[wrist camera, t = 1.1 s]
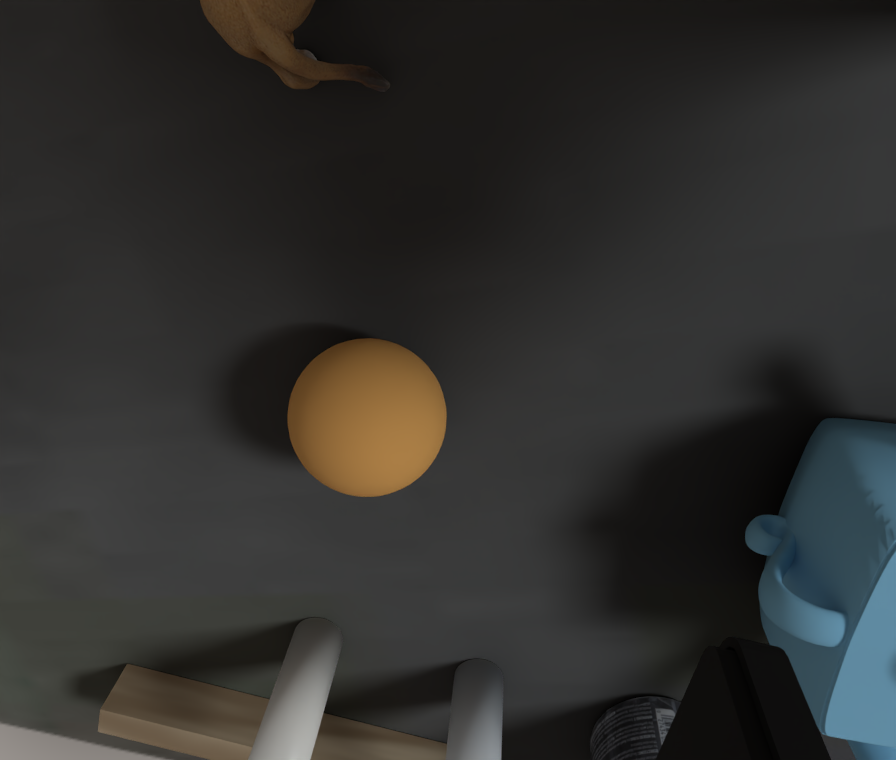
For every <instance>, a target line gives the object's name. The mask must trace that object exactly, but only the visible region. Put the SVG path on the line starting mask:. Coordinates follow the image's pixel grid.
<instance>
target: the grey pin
mask: <svg viewBox="0 0 896 760" xmlns="http://www.w3.org/2000/svg"><path fill="white" fill-rule="evenodd" d="M503 684H504V677H503V673H502V671H501V670H500V668H499V667H498V666H497V665H495V664H494V663H492V662H490V661H488V660H484V659H471V660H467V661H465V662H463V663H461V664H460V665H459V666H458V667H457V669H456V671H455V674H454V682H453V692H452V702H451V712H450V721H449V731H448V741H447V751H446V760H501V751H502V718H503Z"/></svg>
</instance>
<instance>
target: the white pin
mask: <svg viewBox="0 0 896 760" xmlns="http://www.w3.org/2000/svg"><path fill="white" fill-rule="evenodd" d="M342 644H343V635H342V633H341V631H340V629H339V628H338V627H337V626H336V625H335V624H334V623H332V622H331V621H329V620H326V619H323V618H317V617H313V618H308V619H305V620H303V621H301V622H300V623H299V624H298V625H297V626H296V628H295V630H294V633H293V636H292V639H291V641H290V644H289V647H288V650H287V653H286V655H285V658H284V661H283V664H282V667H281V669H280V672H279V675H278V678H277V680H276V683H275V686H274V689H273V692H272V694H271V697H270V700H269V703H268V706H267V708H266V711H265V714H264V717H263V719H262V722H261V725H260V728H259V731H258V733H257V736H256V739H255V742H254V745H253V747H252V750H251V753H250V756H249V758H248V760H310V759H311V756H312V752H313V748H314V745H315V741H316V738H317V734H318V730H319V727H320V723H321V720H322V716H323V712H324V709H325V705H326V702H327V698H328V694H329V691H330V687H331V684H332V680H333V676H334V673H335V669H336V666H337V662H338V658H339V655H340V651H341V648H342Z"/></svg>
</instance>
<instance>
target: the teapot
mask: <svg viewBox="0 0 896 760" xmlns="http://www.w3.org/2000/svg"><path fill="white" fill-rule="evenodd" d="M745 541H746V544H747V546H748V547H749V548H750V549H751V550H753V551H754V552H757V553H759V554H762V555H767V558H766V562H765V567H764V570H763V572H762V575H761V578H760V582H759V588H758V595H759V601H760V616H761V622H762V626H763V629H764V631H765V634H766V637H767V639H768V642H769V644H770V645H772V646H777V647H780V648H781V649H783V650H784V651H785V653H786V654H787V656H788V658H789V660H790V663H791V665H792V667H793V670H794V672H795V675H796V677H797V679H798V682H799V684H800V687H801V689H802V691H803V694H804V696H805V698H806V701H807V703H808V706H809V708H810V710H811V713H812V715H813V718H814V720H815V722H816V725H817V727H818V729H819V730H820V731H821V733H822V734H824V735H827V736H831V737H836V738H841V739H846V740H847V741H848V743H849V745H850V747H851V749H852V751H853V753H854V756H855V758H856V760H896V424H893V423H884V422H875V421H867V420H857V419H844V418H826V419H824V420H822V421H821V422H820V424H819V425H818V426H817V427H816V429H815V430H814V432H813V434H812V435H811V437H810V439H809V441H808V443H807V445H806V447H805V449H804V452H803V454H802V456H801V459H800V461H799V463H798V466H797V468H796V470H795V473H794V475H793V478H792V480H791V482H790V485H789V487H788V490H787V492H786V495H785V497H784V500H783V502H782V505H781V508H780V511H779V514H778V516H777V515H760V516H757V517H755V518H754V519H753V520H752V521H751V522H750V523H749V525H748V526H747V528H746V532H745Z"/></svg>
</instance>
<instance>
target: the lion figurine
mask: <svg viewBox="0 0 896 760" xmlns="http://www.w3.org/2000/svg"><path fill="white" fill-rule="evenodd" d="M314 2H315V0H200V3H201V7H202V9H203V12H204V14H205V16H206V18H207V20H208V21H209V22H210V24H211V25H212V26H213V27H214V28H215V29H216V31H217V32H218V33H219V34H220V35H221V37H222V38H223V39H224V40H225V41H226V42H227V43H228V45H229V46H230V47H232V48H233V49H234V50H235V51H236V52H237V53H239V54H241V55H243V56H245V57H248V58H251V59H255V60H257V61H259V62H261V63H263V64H265V65H267V66H269V67H270V68H272V69H273V71H274V72H275V73H276V74H277V75H278V76H279V77H280V78H281V80H282V81H283V83H284V84H286V85H287V86H289V87H290V88H293V89H310V88H312V87H314V86H315V85H317V84H318V83H319V81H326V80H351V81H357V82H360V83H362V84H363V85H364V86H366V87H371V88H373V89H375V90H376V91H382V92H383V91H387V90H388V89H389V88H390V83H389V82H388V81H387V80H386V79H385V78H384V77H383V76H382V75H381V74H380V73H379V72H377V71H375V70H374V69H372V68H370V67H367V66H359V65H353V64H332V63H326V62H322V61H317V59H316V58H315V56H314V55H313V54H312V53H311V52H310V51H308V50H299V49H295V48H294V46H293V43H294V36H293V31H294V30H295V29H296V28H298V27H299V26H300V25H301V24H302V23H303V22H304V20H305V19H306V18H307V16H308V15H309V13H310V11H311V9H312V7H313V4H314Z"/></svg>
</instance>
